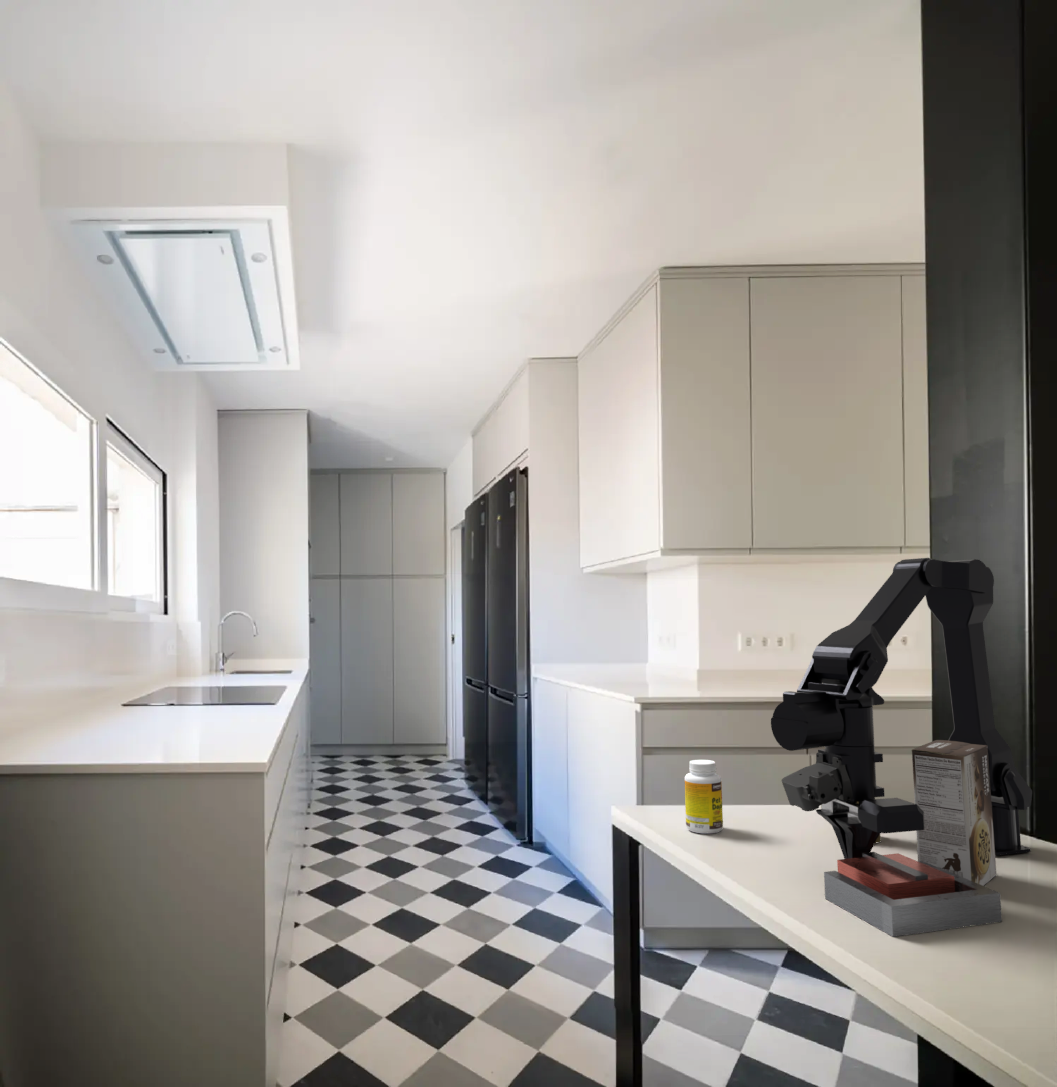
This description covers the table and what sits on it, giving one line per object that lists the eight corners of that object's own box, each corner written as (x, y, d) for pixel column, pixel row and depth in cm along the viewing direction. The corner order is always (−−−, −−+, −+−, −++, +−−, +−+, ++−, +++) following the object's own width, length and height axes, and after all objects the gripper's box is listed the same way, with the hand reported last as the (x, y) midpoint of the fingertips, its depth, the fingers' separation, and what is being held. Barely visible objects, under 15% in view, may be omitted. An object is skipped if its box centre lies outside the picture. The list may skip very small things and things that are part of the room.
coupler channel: (924, 886, 97) (922, 860, 97) (1001, 921, 86) (1000, 892, 86) (825, 898, 94) (823, 871, 94) (892, 936, 83) (891, 906, 83)
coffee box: (943, 865, 105) (935, 738, 106) (998, 876, 101) (990, 743, 102) (916, 882, 99) (909, 747, 100) (974, 895, 94) (965, 753, 95)
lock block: (900, 887, 98) (898, 849, 99) (956, 913, 90) (954, 871, 90) (838, 894, 96) (837, 855, 97) (890, 922, 87) (888, 879, 88)
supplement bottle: (716, 836, 120) (714, 766, 121) (680, 831, 123) (678, 763, 124) (728, 827, 125) (725, 759, 126) (693, 823, 128) (691, 757, 128)
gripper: (752, 735, 107) (756, 856, 106) (838, 760, 89) (843, 906, 88) (826, 731, 110) (831, 849, 109) (924, 754, 92) (931, 897, 91)
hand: (854, 873), depth 99 cm, fingers closed
